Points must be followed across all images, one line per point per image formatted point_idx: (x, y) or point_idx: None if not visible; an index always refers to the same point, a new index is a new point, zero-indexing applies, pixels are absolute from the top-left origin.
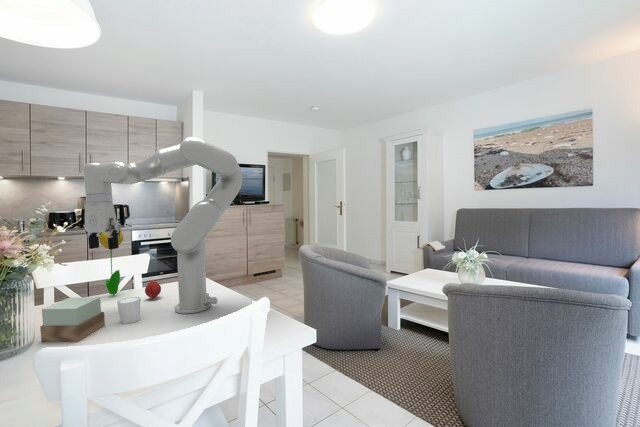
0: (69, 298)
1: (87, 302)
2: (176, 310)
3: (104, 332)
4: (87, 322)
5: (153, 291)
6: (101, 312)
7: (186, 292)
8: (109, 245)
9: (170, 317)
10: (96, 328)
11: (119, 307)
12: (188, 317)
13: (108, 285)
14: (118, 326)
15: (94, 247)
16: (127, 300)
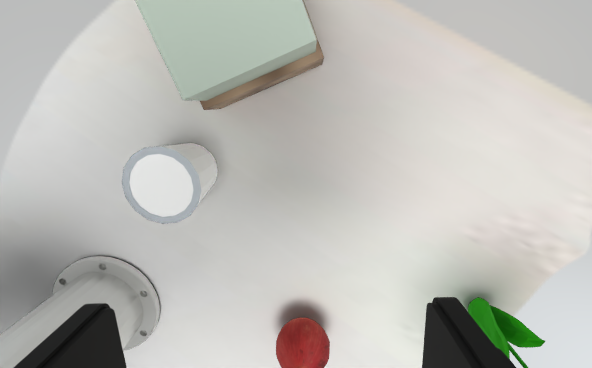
0: (302, 31)
1: (156, 27)
2: (114, 261)
3: (168, 74)
4: None
5: (280, 333)
6: (205, 101)
7: (38, 308)
8: (52, 335)
9: (101, 225)
10: None
11: (166, 145)
12: (55, 242)
13: (511, 324)
14: (175, 122)
15: (425, 340)
16: (165, 182)
